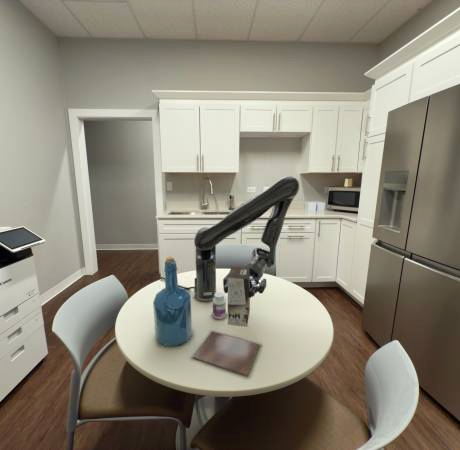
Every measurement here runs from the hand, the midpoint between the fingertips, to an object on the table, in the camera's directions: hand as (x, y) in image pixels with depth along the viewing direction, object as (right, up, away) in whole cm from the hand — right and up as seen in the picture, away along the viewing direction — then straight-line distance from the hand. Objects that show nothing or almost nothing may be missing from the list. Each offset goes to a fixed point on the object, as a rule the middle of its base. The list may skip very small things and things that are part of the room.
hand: (237, 292), depth 77 cm
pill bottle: (-6, -17, +26) cm, 31 cm away
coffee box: (+1, -10, +4) cm, 10 cm away
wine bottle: (-22, -20, +14) cm, 33 cm away
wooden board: (-3, -21, +5) cm, 22 cm away
